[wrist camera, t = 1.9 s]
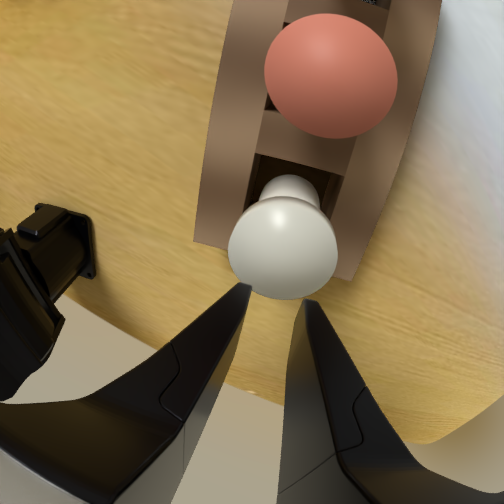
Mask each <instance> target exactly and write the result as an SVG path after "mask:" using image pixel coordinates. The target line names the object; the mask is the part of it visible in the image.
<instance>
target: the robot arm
mask: <svg viewBox="0 0 504 504" xmlns="http://www.w3.org/2000/svg"><path fill="white" fill-rule="evenodd" d="M83 220H84V221H85V222H84V221H83ZM79 275H80V276H82V277H85V278H88V279H93V278H94V277H95V276H96V271H95V264H94V256H93V247H92V237H91V226H90V219H89V217H88V216H87V215H85V214H81V213H77V212H73V211H69V210H67V209H65V208H61V207H57V206H53V205H49V204H43V203H38V204H36V205H35V213H33V214H32V215H30V216H29V217H28V218H26V219H25V220H24V221H22V222H21V223H20V224H18V226H17V231H16V232H15V233H13V231H12V229H11V228H9V229H7V230H5V231H4V230H3V229H1V228H0V401H5V400H7V399H9V398H12V397H13V396H14V394H15V393H16V392H17V390H18V389H19V387H20V386H21V385H22V383H23V382H24V381H25V379H27V377H29V376H30V374H32V373H33V372H35V371H37V370H38V369H39V368H40V367H42V366H43V365H44V363H45V362H46V361H47V360H48V358H49V357H50V355H51V352H52V350H53V347H54V345H55V343H56V340H57V338H58V336H59V334H60V331H61V329H62V327H63V325H64V322H65V318H64V316H63V315H62V314H60V312H59V311H58V309H57V308H56V306H55V305H54V303H55V302H56V301H57V300H58V298H59V297H60V296H61V295H62V294H63V293H64V292H65V291H66V289H67V288H68V287H69V286H70V285H71V284H72V283H73V281H74V280H75V279H76V278H77V277H78V276H79ZM251 291H252V285H250V284H246V283H242V282H239V283H237V284H236V285H235V286H234V287H233V288H231V289H230V290H229V291H228V292H227V293H226V294H224V295H223V296H222V297H221V298H220V299H219V300H217V301H216V302H215V303H214V304H213V305H212V306H210V307H209V308H208V309H207V310H206V311H205V312H203V313H202V314H201V315H200V316H199V317H198V318H196V319H195V320H194V321H193V322H192V323H190V324H189V325H188V326H187V327H186V328H185V329H183V330H182V331H181V332H180V333H179V334H178V335H176V336H175V337H174V338H173V339H172V340H170V342H168V343H167V344H165V345H164V346H163V347H162V348H161V349H160V350H158V351H157V352H156V353H154V354H153V355H152V356H151V357H149V358H148V359H147V360H145V361H144V362H142V363H141V364H139V365H138V366H136V367H135V368H134V369H132V370H131V371H129V372H127V373H125V374H124V375H122V376H120V377H119V378H117V379H116V380H114V381H112V382H111V383H109V384H108V385H106V386H104V387H103V388H101V389H99V390H98V391H96V392H94V393H92V394H90V395H88V396H86V397H83V398H80V399H76V400H70V401H59V402H47V403H32V404H31V403H30V404H5V403H0V504H171V501H172V499H173V497H174V495H175V493H176V490H177V488H178V486H179V484H180V481H181V479H182V477H183V474H184V472H185V470H186V468H187V466H188V463H189V461H190V459H191V457H192V454H193V452H194V450H195V448H196V445H197V443H198V440H199V438H200V436H201V434H202V431H203V429H204V427H205V424H206V422H207V420H208V417H209V415H210V413H211V410H212V408H213V406H214V403H215V401H216V399H217V396H218V394H219V391H220V389H221V387H222V385H223V382H224V380H225V377H226V375H227V373H228V370H229V368H230V365H231V363H232V361H233V358H234V355H235V352H236V349H237V345H238V341H239V337H240V333H241V330H242V326H243V322H244V318H245V314H246V310H247V306H248V303H249V299H250V295H251ZM276 504H504V491H503V492H500V493H486V492H482V491H479V490H476V489H473V488H471V487H468V486H465V485H463V484H460V483H458V482H455V481H453V480H451V479H448V478H446V477H444V476H441V475H439V474H437V473H435V472H432V471H430V470H428V469H427V468H425V467H423V466H422V465H421V464H420V463H419V462H418V461H417V460H416V459H415V458H414V457H413V455H412V454H411V453H410V451H409V450H408V448H407V447H406V446H405V444H404V443H403V441H402V440H401V438H400V437H399V436H398V434H397V433H396V431H395V430H394V428H393V427H392V426H391V424H390V423H389V421H388V420H387V418H386V417H385V415H384V414H383V412H382V411H381V409H380V408H379V406H378V404H377V403H376V401H375V399H374V398H373V396H372V394H371V392H370V391H369V389H368V387H367V386H366V384H365V382H364V380H363V378H362V377H361V375H360V373H359V371H358V370H357V368H356V366H355V364H354V363H353V361H352V359H351V357H350V356H349V354H348V352H347V350H346V349H345V347H344V345H343V344H342V342H341V340H340V338H339V337H338V335H337V333H336V332H335V330H334V328H333V326H332V325H331V323H330V321H329V320H328V318H327V316H326V315H325V313H324V311H323V310H322V308H321V306H320V305H319V303H318V302H317V301H315V300H311V299H304V300H303V301H302V304H301V306H300V309H299V311H298V314H297V316H296V319H295V323H294V328H293V334H292V340H291V345H290V351H289V356H288V362H287V371H286V387H285V404H284V420H283V434H282V448H281V460H280V472H279V483H278V495H277V503H276Z"/></svg>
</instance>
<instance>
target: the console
mask: <svg viewBox="0 0 504 504" xmlns="http://www.w3.org/2000/svg"><path fill="white" fill-rule="evenodd" d="M441 3H442V0H376V4H375V5H373V4H370V3H367V2H364V1H361V0H234V1H233V5H232V9H231V14H230V18H229V22H228V27H227V32H226V36H225V41H224V46H223V51H222V56H221V61H220V66H219V71H218V76H217V81H216V87H215V92H214V98H213V104H212V109H211V115H210V121H209V127H208V134H207V140H206V147H205V153H204V160H203V167H202V174H201V182H200V189H199V197H198V205H197V213H196V221H195V230H194V239H193V242H197V243H201V244H205V245H209V246H213V247H216V248H220V249H224V250H228V244H229V240H230V237H231V235H232V232H233V230H234V228H235V226H236V223H237V221H238V219H239V218H240V216H241V215H242V214H243V213H244V211H245V210H247V209H248V208H249V207H250V206H251V205H253V204H255V203H254V202H251V200H252V195H253V191H254V186H255V181H256V177H257V172H258V167H259V163H260V158H261V154H263V155H267V156H271V157H275V158H279V159H283V160H287V161H291V162H295V163H299V164H303V165H307V166H310V167H314V168H318V169H321V170H325V171H328V172H331V175H330V179H329V182H328V185H327V188H326V192H325V195H324V198H323V201H322V204H321V207H320V210H321V211H322V212H323V213H324V214H325V215H326V217H327V218H328V219H329V221H330V222H331V225H332V227H333V229H334V232H335V237H336V244H337V251H338V259H337V265H336V268H335V271H334V273H333V275H332V276H331V277H335V278H339V279H343V280H347V281H352V279H353V277H354V275H355V273H356V270H357V268H358V266H359V264H360V261H361V259H362V257H363V255H364V252H365V250H366V248H367V246H368V243H369V241H370V239H371V236H372V234H373V231H374V229H375V227H376V224H377V222H378V219H379V217H380V214H381V212H382V209H383V207H384V204H385V202H386V199H387V197H388V194H389V191H390V189H391V186H392V183H393V181H394V178H395V175H396V172H397V169H398V167H399V164H400V161H401V158H402V155H403V152H404V149H405V146H406V143H407V140H408V137H409V134H410V131H411V128H412V124H413V121H414V118H415V114H416V111H417V108H418V104H419V101H420V97H421V94H422V90H423V86H424V82H425V79H426V75H427V71H428V67H429V62H430V58H431V54H432V49H433V45H434V40H435V35H436V30H437V25H438V20H439V15H440V9H441ZM315 14H338V15H342V16H347V17H349V18H352V19H355V20H357V21H359V22H361V23H363V24H364V25H366V26H367V27H369V28H370V29H371V30H373V31H374V32H375V33H376V34H377V35H378V36H379V37H380V38H381V39H382V40H383V41H384V43H385V44H386V46H387V47H388V49H389V51H390V53H391V55H392V57H393V59H394V62H395V65H396V70H397V79H398V82H397V91H396V96H395V99H394V102H393V104H392V106H391V108H390V110H389V112H388V113H387V114H386V116H385V117H384V118H383V119H382V120H381V121H380V122H379V123H378V124H377V125H376V126H374V127H373V128H372V129H370V130H368V131H366V132H364V133H362V134H360V135H357V136H353V137H349V138H340V139H332V138H324V137H319V136H315V135H312V134H309V133H307V132H305V131H303V130H301V129H299V128H297V127H296V126H294V125H293V124H292V123H290V122H289V121H288V120H287V119H286V118H285V117H284V116H283V115H282V114H281V113H280V112H279V111H278V109H277V108H276V107H275V105H274V104H273V102H272V100H271V98H270V96H269V93H268V91H267V87H266V83H265V76H264V66H265V60H266V56H267V53H268V50H269V48H270V46H271V44H272V42H273V41H274V39H275V38H276V36H277V35H278V34H279V33H280V32H281V31H282V30H283V29H284V28H285V27H286V26H288V25H289V24H291V23H292V22H294V21H296V20H298V19H301V18H303V17H306V16H310V15H315Z"/></svg>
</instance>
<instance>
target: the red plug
mask: <svg viewBox="0 0 504 504" xmlns="http://www.w3.org/2000/svg"><path fill="white" fill-rule="evenodd" d="M264 76H265V83H266V87H267V91H268V93H269V96H270V98H271V100H272V102H273V103H274V105H275V107H276V108H277V109H278V111H279V112H280V113H281V114H282V115H283V116H284V117H285V118H286V119H287V120H288V121H289V122H290V123H292V124H293V125H294V126H296V127H297V128H299V129H301V130H303V131H305V132H307V133H309V134H312V135H315V136H319V137H324V138H332V139H340V138H349V137H353V136H357V135H360V134H362V133H364V132H366V131H368V130H370V129H372V128H373V127H374V126H376V125H377V124H378V123H379V122H380V121H381V120H382V119H383V118H384V117H385V116H386V114H387V113H388V112H389V110H390V108H391V106H392V104H393V102H394V99H395V96H396V91H397V82H398V79H397V70H396V65H395V62H394V59H393V57H392V55H391V53H390V51H389V49H388V47H387V46H386V44H385V43H384V41H383V40H382V39H381V38H380V37H379V36H378V35H377V34H376V33H375V32H374V31H373V30H371V29H370V28H369V27H367V26H366V25H364V24H363V23H361V22H359V21H357V20H355V19H352V18H349V17H347V16H342V15H338V14H315V15H310V16H306V17H303V18H301V19H298V20H296V21H294V22H292V23H291V24H289V25H288V26H286V27H285V28H284V29H283V30H282V31H281V32H280V33H279V34H278V35H277V36H276V38H275V39H274V41H273V42H272V44H271V46H270V48H269V50H268V53H267V56H266V60H265V66H264Z"/></svg>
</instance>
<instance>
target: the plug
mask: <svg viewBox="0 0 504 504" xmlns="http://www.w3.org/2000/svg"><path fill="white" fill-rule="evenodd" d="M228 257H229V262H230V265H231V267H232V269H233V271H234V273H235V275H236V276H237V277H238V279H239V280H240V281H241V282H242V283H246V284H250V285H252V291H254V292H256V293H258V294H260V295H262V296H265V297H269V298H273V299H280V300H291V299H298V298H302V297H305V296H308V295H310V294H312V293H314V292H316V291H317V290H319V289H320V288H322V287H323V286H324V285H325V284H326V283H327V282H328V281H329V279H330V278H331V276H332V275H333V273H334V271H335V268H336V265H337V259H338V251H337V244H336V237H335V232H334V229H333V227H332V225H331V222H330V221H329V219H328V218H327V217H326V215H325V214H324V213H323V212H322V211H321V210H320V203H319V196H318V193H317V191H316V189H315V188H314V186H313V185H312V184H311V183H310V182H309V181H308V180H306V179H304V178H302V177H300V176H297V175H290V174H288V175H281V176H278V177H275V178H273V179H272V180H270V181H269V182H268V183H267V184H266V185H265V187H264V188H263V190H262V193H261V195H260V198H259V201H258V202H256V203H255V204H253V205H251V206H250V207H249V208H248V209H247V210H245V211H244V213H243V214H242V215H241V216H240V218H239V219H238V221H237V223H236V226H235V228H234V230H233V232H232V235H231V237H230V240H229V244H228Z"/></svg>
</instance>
